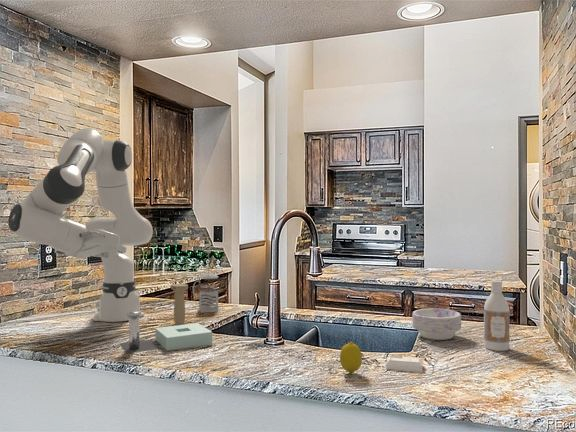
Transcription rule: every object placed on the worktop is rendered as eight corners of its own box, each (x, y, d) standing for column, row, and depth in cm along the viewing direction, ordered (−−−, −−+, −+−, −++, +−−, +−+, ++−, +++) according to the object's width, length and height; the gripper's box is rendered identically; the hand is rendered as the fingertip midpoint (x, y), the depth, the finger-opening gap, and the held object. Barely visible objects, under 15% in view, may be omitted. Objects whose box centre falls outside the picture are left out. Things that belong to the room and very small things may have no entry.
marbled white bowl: (403, 337, 159) (403, 312, 159) (425, 329, 170) (425, 306, 170) (448, 345, 149) (448, 319, 149) (469, 336, 160) (469, 312, 160)
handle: (181, 329, 171) (181, 286, 171) (168, 327, 175) (167, 285, 174) (191, 326, 175) (190, 284, 175) (177, 324, 179) (177, 283, 179)
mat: (119, 344, 152) (119, 343, 152) (151, 340, 157) (151, 339, 157) (126, 354, 142) (126, 353, 142) (161, 349, 147) (161, 348, 147)
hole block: (155, 340, 157) (155, 328, 157) (197, 334, 164) (197, 322, 164) (167, 351, 145) (167, 337, 145) (212, 344, 151) (212, 331, 151)
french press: (218, 312, 201) (218, 250, 201) (190, 312, 201) (190, 251, 201) (222, 307, 211) (222, 249, 211) (195, 307, 211) (194, 249, 211)
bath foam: (485, 350, 144) (484, 282, 143) (483, 344, 150) (483, 279, 150) (511, 352, 142) (510, 283, 141) (507, 346, 148) (507, 279, 148)
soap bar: (422, 373, 125) (422, 363, 125) (386, 370, 127) (386, 360, 127) (422, 367, 130) (422, 357, 130) (387, 364, 132) (387, 354, 132)
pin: (126, 347, 148) (125, 311, 148) (139, 345, 150) (139, 310, 149) (128, 351, 144) (128, 314, 144) (142, 349, 146) (142, 312, 146)
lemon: (338, 370, 126) (337, 339, 126) (359, 369, 127) (359, 338, 127) (342, 377, 121) (342, 345, 121) (364, 377, 121) (364, 344, 121)
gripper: (93, 219, 131) (138, 237, 140) (58, 233, 144) (101, 248, 153) (87, 241, 128) (133, 258, 137) (52, 253, 141) (96, 268, 150)
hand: (116, 253), depth 145 cm, fingers open, 8 cm apart
